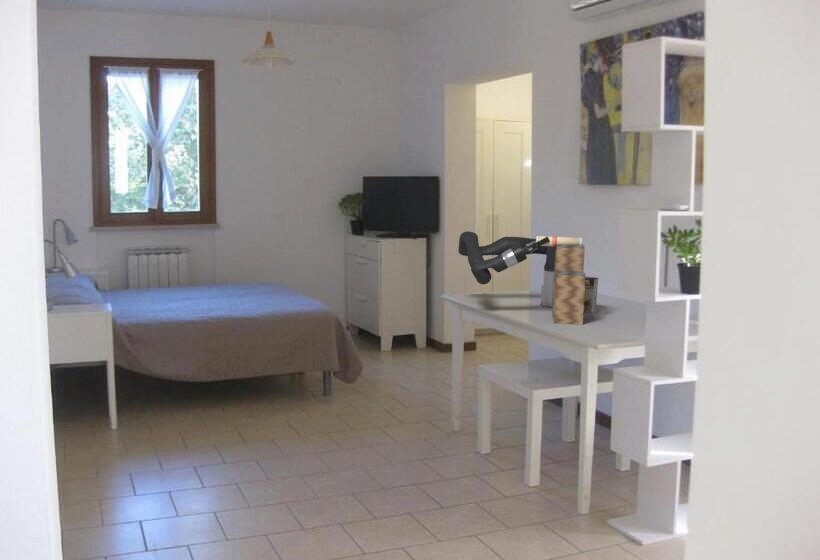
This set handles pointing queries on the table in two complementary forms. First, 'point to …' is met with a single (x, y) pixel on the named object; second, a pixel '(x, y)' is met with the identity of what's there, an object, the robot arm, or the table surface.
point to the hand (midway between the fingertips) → (548, 238)
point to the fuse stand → (568, 284)
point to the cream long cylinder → (560, 240)
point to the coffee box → (590, 294)
